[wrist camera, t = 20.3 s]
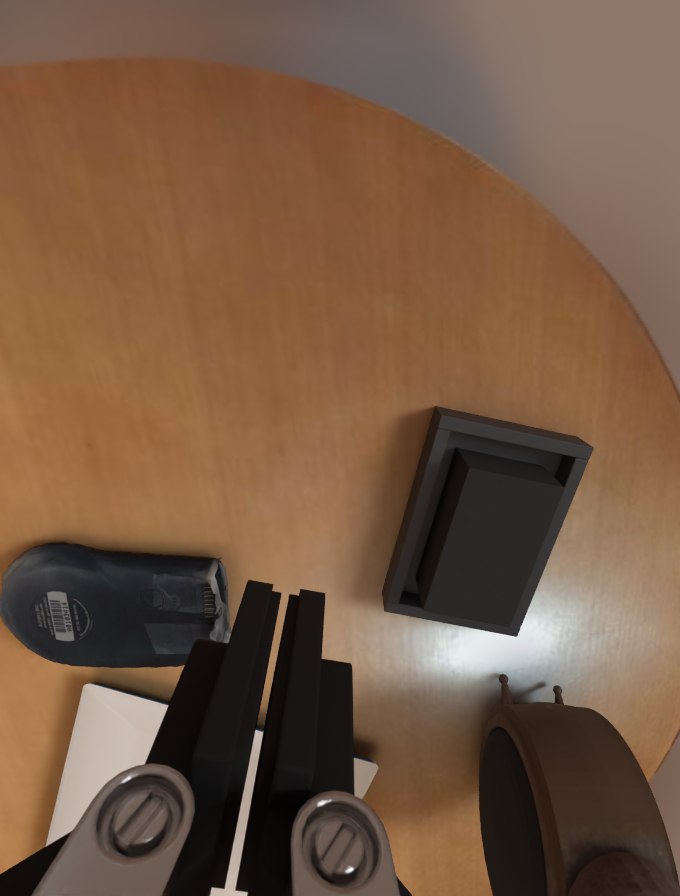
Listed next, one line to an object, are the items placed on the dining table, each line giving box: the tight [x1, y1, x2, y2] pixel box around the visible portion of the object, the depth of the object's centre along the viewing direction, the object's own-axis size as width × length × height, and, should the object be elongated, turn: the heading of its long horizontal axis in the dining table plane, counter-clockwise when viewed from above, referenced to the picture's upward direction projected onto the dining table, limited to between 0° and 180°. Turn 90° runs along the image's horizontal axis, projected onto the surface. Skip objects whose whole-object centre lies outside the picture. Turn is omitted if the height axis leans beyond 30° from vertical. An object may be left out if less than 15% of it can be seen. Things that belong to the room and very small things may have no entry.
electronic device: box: [0, 543, 231, 668], centre depth 33 cm, size 9×6×15 cm
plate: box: [46, 683, 379, 896], centre depth 40 cm, size 22×22×2 cm
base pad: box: [382, 406, 593, 636], centre depth 31 cm, size 14×9×2 cm
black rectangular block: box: [415, 447, 565, 627], centre depth 30 cm, size 10×6×4 cm, turn 168°
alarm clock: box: [479, 674, 680, 896], centre depth 28 cm, size 14×7×20 cm, turn 177°
